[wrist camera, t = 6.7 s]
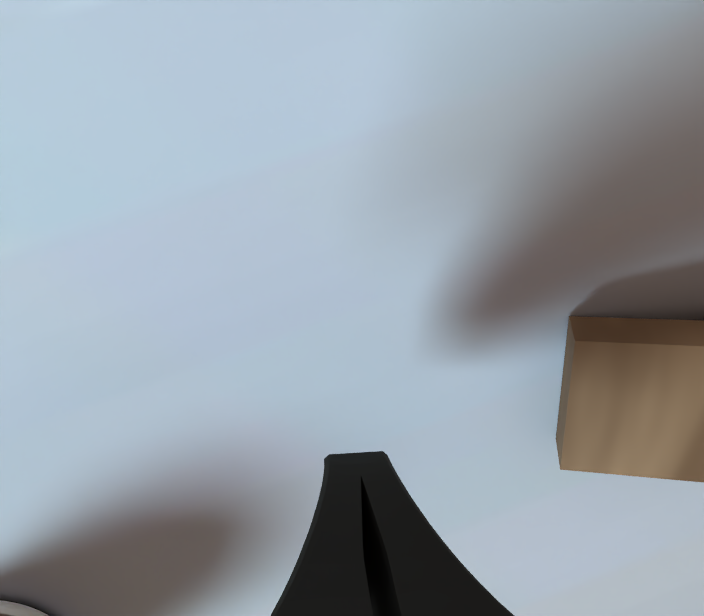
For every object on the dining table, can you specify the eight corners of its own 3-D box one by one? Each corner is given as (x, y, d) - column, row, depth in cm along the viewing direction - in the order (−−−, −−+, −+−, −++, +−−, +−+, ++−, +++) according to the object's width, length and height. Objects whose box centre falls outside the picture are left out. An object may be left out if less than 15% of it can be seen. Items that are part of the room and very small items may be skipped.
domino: (568, 316, 16) (858, 325, 15) (555, 438, 18) (809, 458, 17) (574, 340, 15) (891, 354, 13) (560, 469, 17) (834, 494, 15)
